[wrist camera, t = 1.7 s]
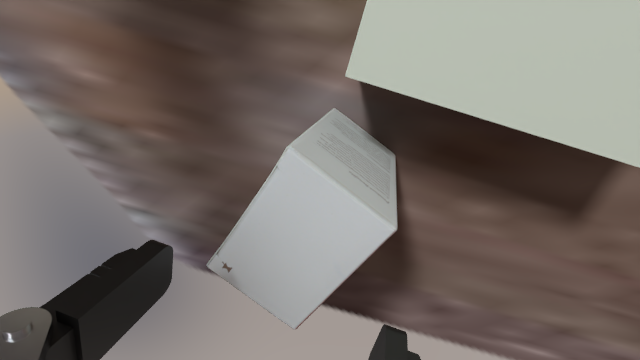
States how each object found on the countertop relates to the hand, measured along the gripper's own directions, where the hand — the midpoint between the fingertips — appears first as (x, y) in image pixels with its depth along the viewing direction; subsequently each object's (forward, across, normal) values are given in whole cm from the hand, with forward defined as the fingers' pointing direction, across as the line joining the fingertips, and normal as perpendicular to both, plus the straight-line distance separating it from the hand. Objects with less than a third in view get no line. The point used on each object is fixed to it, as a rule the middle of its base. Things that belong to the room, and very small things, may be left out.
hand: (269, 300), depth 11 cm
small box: (+14, 0, 0) cm, 14 cm away
